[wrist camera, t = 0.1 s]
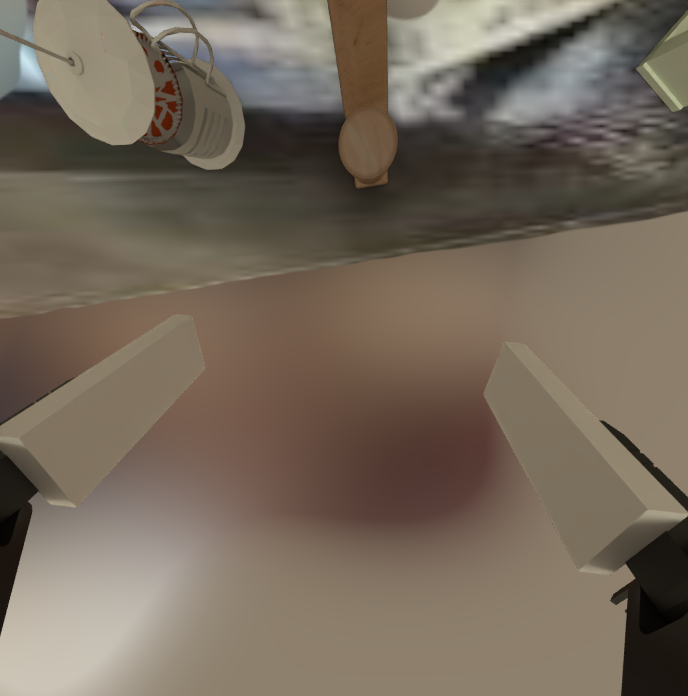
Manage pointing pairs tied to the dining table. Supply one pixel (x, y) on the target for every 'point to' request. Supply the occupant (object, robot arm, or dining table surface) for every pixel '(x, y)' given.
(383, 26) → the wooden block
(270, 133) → the dining table surface
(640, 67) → the pale green rectangular frame
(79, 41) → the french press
